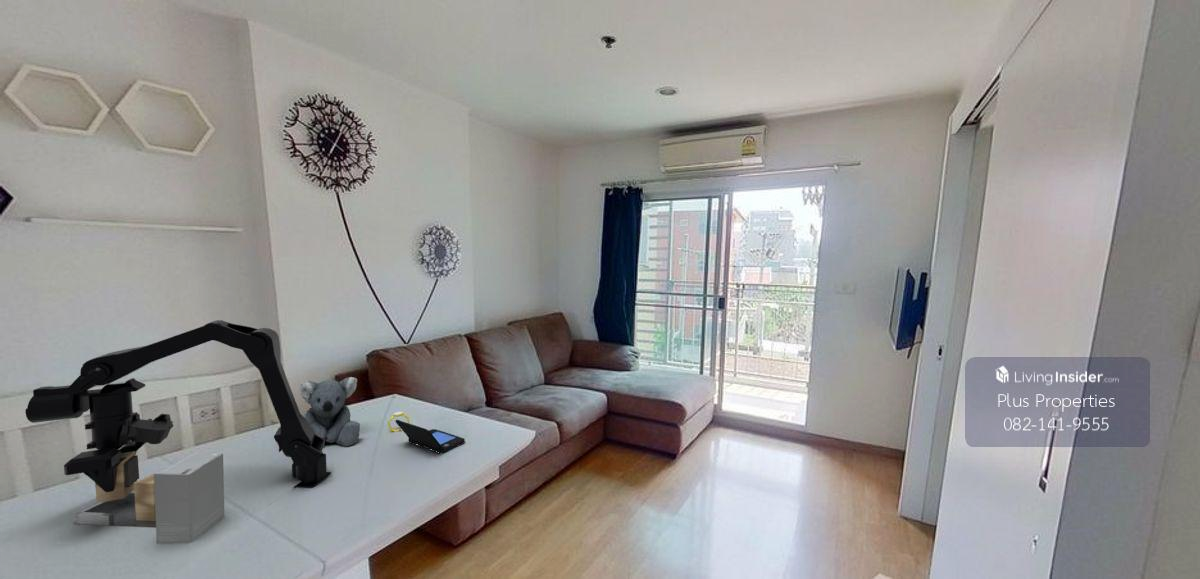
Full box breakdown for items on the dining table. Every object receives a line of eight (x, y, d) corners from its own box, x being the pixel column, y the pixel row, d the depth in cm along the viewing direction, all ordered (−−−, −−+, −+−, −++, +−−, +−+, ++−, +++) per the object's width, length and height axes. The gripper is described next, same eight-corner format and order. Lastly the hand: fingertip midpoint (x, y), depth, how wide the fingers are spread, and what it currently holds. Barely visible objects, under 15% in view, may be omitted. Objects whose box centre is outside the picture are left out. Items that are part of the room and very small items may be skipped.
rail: (203, 508, 91) (202, 493, 91) (159, 534, 82) (158, 518, 82) (124, 505, 92) (123, 490, 91) (72, 531, 83) (71, 514, 83)
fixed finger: (180, 506, 89) (178, 471, 88) (154, 521, 84) (152, 483, 83) (160, 505, 89) (158, 470, 89) (133, 520, 84) (130, 482, 84)
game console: (466, 443, 125) (466, 414, 125) (428, 462, 114) (427, 430, 113) (433, 432, 133) (433, 405, 133) (394, 448, 122) (393, 418, 121)
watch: (389, 434, 131) (387, 416, 131) (389, 431, 134) (387, 413, 133) (409, 430, 134) (407, 412, 133) (409, 427, 136) (408, 409, 135)
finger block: (141, 485, 90) (138, 450, 90) (128, 497, 86) (126, 460, 85) (110, 491, 88) (108, 455, 87) (96, 503, 84) (93, 465, 83)
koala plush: (288, 458, 114) (285, 389, 113) (298, 434, 130) (295, 373, 128) (360, 445, 123) (358, 381, 121) (361, 424, 138) (359, 367, 137)
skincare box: (193, 524, 86) (189, 451, 84) (229, 523, 86) (226, 450, 85) (152, 553, 77) (147, 472, 76) (193, 551, 78) (189, 471, 77)
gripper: (143, 422, 81) (148, 498, 82) (183, 394, 97) (187, 458, 99) (58, 433, 76) (65, 513, 77) (116, 401, 92) (121, 468, 93)
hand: (117, 485), depth 87 cm, fingers closed on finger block, 5 cm apart
